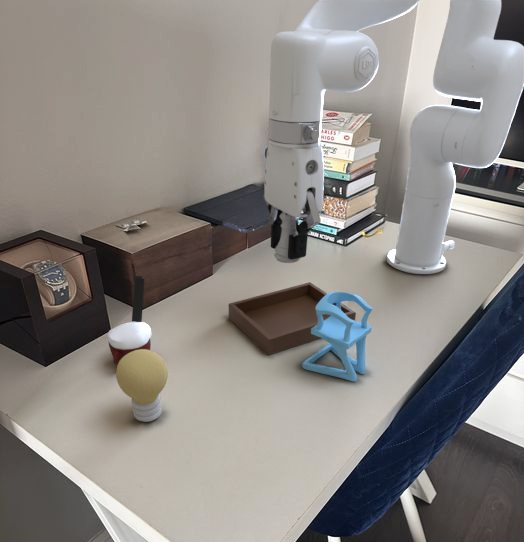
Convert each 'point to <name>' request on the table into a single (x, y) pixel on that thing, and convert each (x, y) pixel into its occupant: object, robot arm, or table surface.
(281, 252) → the rook chess piece
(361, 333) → the chair
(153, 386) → the light bulb
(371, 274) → the table surface
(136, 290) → the cocoa
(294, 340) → the tray
